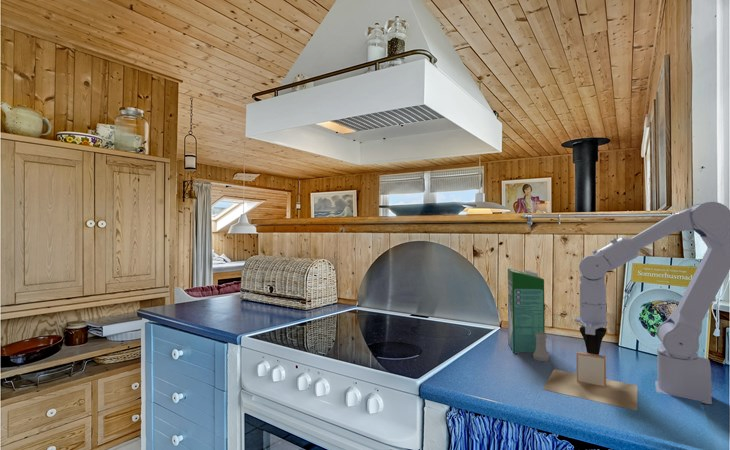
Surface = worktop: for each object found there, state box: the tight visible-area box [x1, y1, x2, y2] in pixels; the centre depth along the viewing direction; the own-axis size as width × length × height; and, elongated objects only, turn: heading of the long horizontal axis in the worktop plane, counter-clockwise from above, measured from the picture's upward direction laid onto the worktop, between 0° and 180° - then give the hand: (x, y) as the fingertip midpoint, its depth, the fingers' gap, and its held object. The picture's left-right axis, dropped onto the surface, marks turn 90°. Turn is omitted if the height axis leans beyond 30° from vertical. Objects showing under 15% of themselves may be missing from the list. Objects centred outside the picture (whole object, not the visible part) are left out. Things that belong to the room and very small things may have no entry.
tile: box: [576, 351, 607, 388], centre depth 91 cm, size 6×2×7 cm, turn 54°
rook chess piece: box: [532, 332, 550, 362], centre depth 109 cm, size 4×4×8 cm
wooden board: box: [542, 368, 638, 411], centre depth 89 cm, size 18×15×1 cm
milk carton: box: [507, 267, 546, 354], centre depth 119 cm, size 9×9×25 cm
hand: (593, 356), depth 96 cm, fingers closed
